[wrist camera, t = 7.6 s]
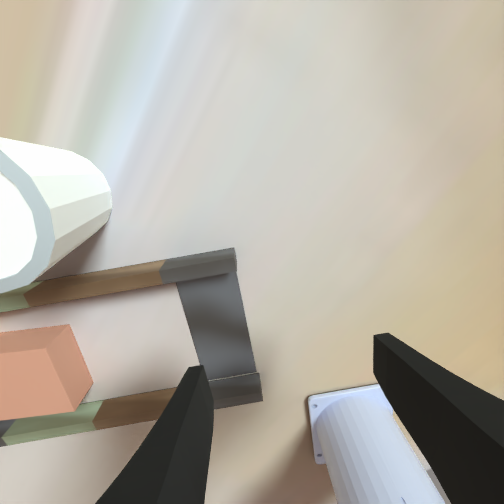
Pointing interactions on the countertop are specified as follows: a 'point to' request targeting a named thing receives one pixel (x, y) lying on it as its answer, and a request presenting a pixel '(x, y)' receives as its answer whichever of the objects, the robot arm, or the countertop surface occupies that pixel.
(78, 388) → the brick block
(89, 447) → the countertop surface
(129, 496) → the robot arm
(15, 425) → the channel
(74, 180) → the shot glass
